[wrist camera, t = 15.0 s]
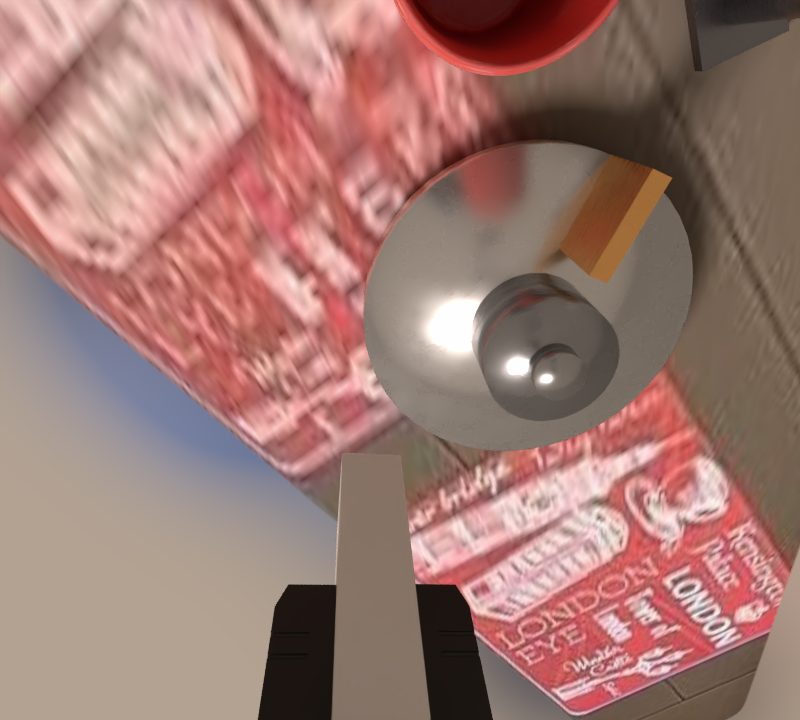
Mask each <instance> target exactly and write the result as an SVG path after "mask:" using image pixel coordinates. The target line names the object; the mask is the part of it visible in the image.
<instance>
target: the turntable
mask: <svg viewBox="0 0 800 720" xmlns="http://www.w3.org/2000/svg"><path fill="white" fill-rule="evenodd" d="M671 179H672V177H670V176H667V175H665V174H663V173H661V172H659V171H657V170H655V169H653V168H650V167H647V166H644V165H641V164H638V163H636V162H633V161H630V160H627V159H624V158H621V157H618V156H615V155H613V154H611V155H610V154H608V153H605V152H602V151H600V150H597V149H594V148H591V147H589V146H586V145H581V144H576V143H572V142H567V141H560V140H544V139H538V140H525V141H515V142H511V143H506V144H502V145H497V146H493V147H490V148H488V149H485V150H482V151H479V152H477V153H474V154H471V155H469V156H467V157H465V158H463V159H461V160H460V161H458V162H456V163H454V164H452V165H450V166H448V167H447V168H445V169H444V170H442V171H441V172H440V173H438V174H437V175H435V176H434V177H433V178H431V179H430V180H428V181H427V182H426V183H425V184H424V185H423V186H422V187H421V188H420V189H418V190H417V191H416V192H415V193H414V194H413V195H412V196H411V197H410V198H409V199H408V200H407V202H406V203H405V204H404V205H403V206H402V207H401V209H400V210H399V211H398V212H397V213H396V215H395V216H394V218H393V219H392V221H391V222H390V224H389V226H388V227H387V229H386V230H385V232H384V233H383V235H382V237H381V240H380V242H379V244H378V246H377V248H376V250H375V252H374V255H373V258H372V261H371V264H370V267H369V270H368V274H367V280H366V285H365V291H364V312H363V314H364V331H365V340H366V347H367V350H368V354H369V358H370V362H371V365H372V367H373V369H374V372H375V374H376V376H377V379H378V381H379V382H380V384H381V385H382V387H383V389H384V390H385V392H386V394H387V395H388V396H389V398H390V399H391V400H392V401H393V402H394V404H395V405H396V406H397V407H398V408H399V409H400V410H401V411H402V412H403V413H404V414H405V415H406V416H407V417H408V418H410V419H411V420H412V421H413V422H415V423H416V424H418V425H419V426H421V427H422V428H423V429H425V430H426V431H428V432H430V433H432V434H434V435H436V436H438V437H440V438H442V439H445V440H448V441H451V442H453V443H456V444H459V445H463V446H468V447H472V448H477V449H485V450H495V451H513V450H523V449H532V448H537V447H542V446H547V445H551V444H554V443H557V442H561V441H564V440H567V439H570V438H572V437H574V436H577V435H579V434H582V433H584V432H586V431H588V430H590V429H592V428H594V427H595V426H597V425H599V424H601V423H603V422H604V421H606V420H607V419H609V418H610V417H612V416H613V415H615V414H616V413H618V412H619V411H620V410H622V409H623V408H624V407H625V406H626V405H628V404H629V403H630V402H631V401H632V400H634V399H635V398H636V397H637V396H638V395H639V394H640V393H641V392H642V391H643V390H644V389H645V388H646V387H647V386H648V385H649V383H650V382H651V381H652V380H653V378H654V377H655V376H656V375H657V373H658V372H659V371H660V370H661V368H662V367H663V365H664V364H665V362H666V361H667V359H668V357H669V356H670V354H671V353H672V351H673V349H674V347H675V345H676V343H677V341H678V339H679V337H680V335H681V332H682V329H683V326H684V323H685V321H686V318H687V315H688V310H689V305H690V301H691V296H692V284H693V265H692V254H691V249H690V245H689V240H688V236H687V233H686V231H685V228H684V226H683V223H682V221H681V218H680V216H679V214H678V213H677V211H676V209H675V208H674V206H673V204H672V203H671V201H670V199H669V198H668V197H667V196H666V195H665V193H664V191H665V189H666V188H667V186H668V184H669V183H670V181H671ZM528 273H547V274H552V275H555V276H558V277H561V278H563V279H565V280H567V281H568V282H569V283H571V284H572V285H573V286H574V287H575V288H576V289H577V290H578V291H579V292H580V293H581V294H582V295H583V296H584V297H585V298H586V299H587V300H588V301H589V302H590V303H591V304H592V305H593V306H594V307H595V308H596V309H597V310H598V311H599V312H600V313H601V314H602V315H603V316H604V317H605V318H606V319H607V320H608V321H609V323H610V324H611V325H612V327H613V328H614V330H615V333H616V335H617V338H618V341H619V349H620V351H619V362H618V366H617V369H616V372H615V374H614V376H613V379H612V380H611V382H610V384H609V385H608V387H607V388H606V389H605V391H604V392H603V393H602V394H601V395H600V396H599V397H598V398H597V399H596V400H595V401H594V402H592V403H591V404H590V405H588V406H587V407H585V408H584V409H582V410H580V411H578V412H577V413H575V414H572V415H570V416H567V417H564V418H560V419H556V420H550V421H533V420H526V419H523V418H519V417H517V416H514V415H512V414H510V413H509V412H507V411H505V410H504V409H503V408H502V407H500V405H499V404H498V403H497V402H496V401H495V400H494V398H493V397H492V395H491V393H490V391H489V388H488V386H487V383H486V381H485V379H484V376H483V374H482V371H481V369H480V366H479V364H478V361H477V359H476V356H475V354H474V352H473V349H472V345H471V339H470V330H471V324H472V320H473V317H474V314H475V312H476V310H477V308H478V307H479V305H480V303H481V302H482V301H483V299H484V298H485V297H486V296H487V295H488V294H489V293H490V292H491V291H492V290H493V289H494V288H496V287H497V286H498V285H500V284H501V283H503V282H505V281H507V280H509V279H511V278H513V277H516V276H519V275H523V274H528Z"/></svg>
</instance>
